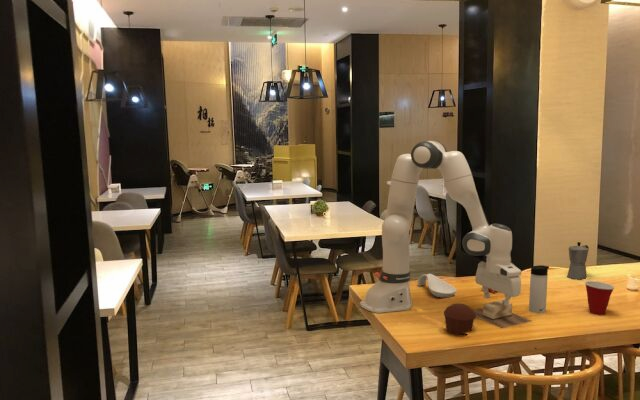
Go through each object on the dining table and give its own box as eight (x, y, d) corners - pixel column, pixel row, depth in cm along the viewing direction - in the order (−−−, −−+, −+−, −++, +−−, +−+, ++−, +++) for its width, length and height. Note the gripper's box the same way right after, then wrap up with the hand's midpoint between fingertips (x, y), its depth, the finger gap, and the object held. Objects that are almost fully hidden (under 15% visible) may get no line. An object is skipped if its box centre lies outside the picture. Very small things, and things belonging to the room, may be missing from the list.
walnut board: (501, 332, 196) (501, 328, 195) (463, 315, 213) (463, 311, 213) (532, 324, 203) (532, 320, 203) (492, 309, 220) (493, 305, 220)
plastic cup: (619, 316, 212) (621, 286, 210) (594, 318, 210) (596, 288, 208) (600, 307, 222) (602, 279, 221) (576, 308, 220) (578, 280, 219)
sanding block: (492, 320, 203) (493, 307, 203) (483, 316, 208) (483, 303, 207) (511, 316, 208) (512, 303, 207) (501, 312, 212) (502, 300, 212)
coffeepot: (579, 282, 259) (581, 245, 257) (560, 277, 267) (562, 242, 264) (595, 276, 268) (597, 241, 266) (577, 272, 276) (579, 238, 273)
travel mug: (544, 318, 210) (547, 268, 207) (527, 315, 213) (529, 266, 211) (547, 313, 215) (550, 265, 212) (530, 310, 218) (532, 262, 216)
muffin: (436, 329, 198) (437, 303, 197) (456, 323, 205) (457, 298, 203) (462, 340, 189) (462, 312, 187) (482, 333, 195) (483, 306, 194)
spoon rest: (461, 298, 235) (461, 282, 234) (438, 302, 231) (439, 285, 230) (431, 284, 257) (431, 269, 256) (409, 287, 253) (410, 272, 252)
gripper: (472, 260, 213) (470, 294, 215) (512, 274, 195) (509, 310, 197) (484, 259, 216) (482, 292, 218) (524, 272, 198) (522, 308, 200)
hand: (495, 301), depth 207 cm, fingers open, 8 cm apart
